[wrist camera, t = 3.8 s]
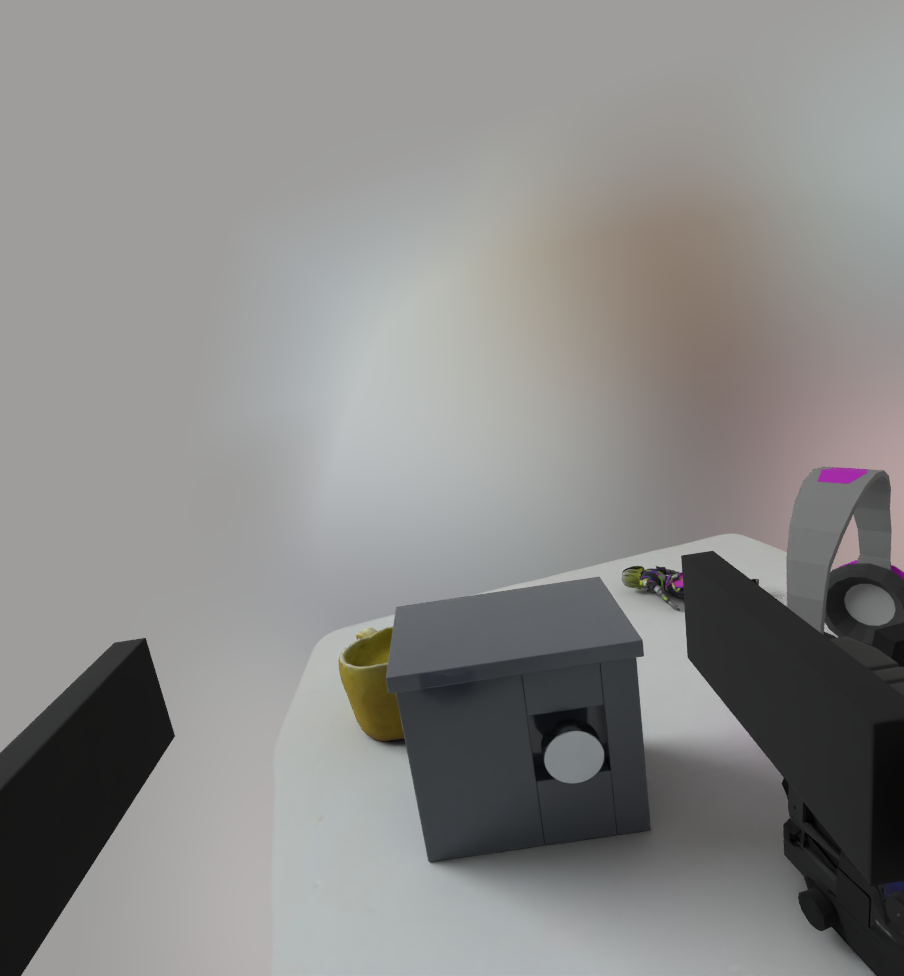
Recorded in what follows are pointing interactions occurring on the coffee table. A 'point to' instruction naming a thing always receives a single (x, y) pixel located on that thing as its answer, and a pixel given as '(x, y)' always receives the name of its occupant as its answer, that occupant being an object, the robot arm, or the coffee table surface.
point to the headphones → (814, 543)
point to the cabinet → (518, 716)
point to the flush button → (572, 751)
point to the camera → (848, 873)
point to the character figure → (657, 581)
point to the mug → (371, 684)
